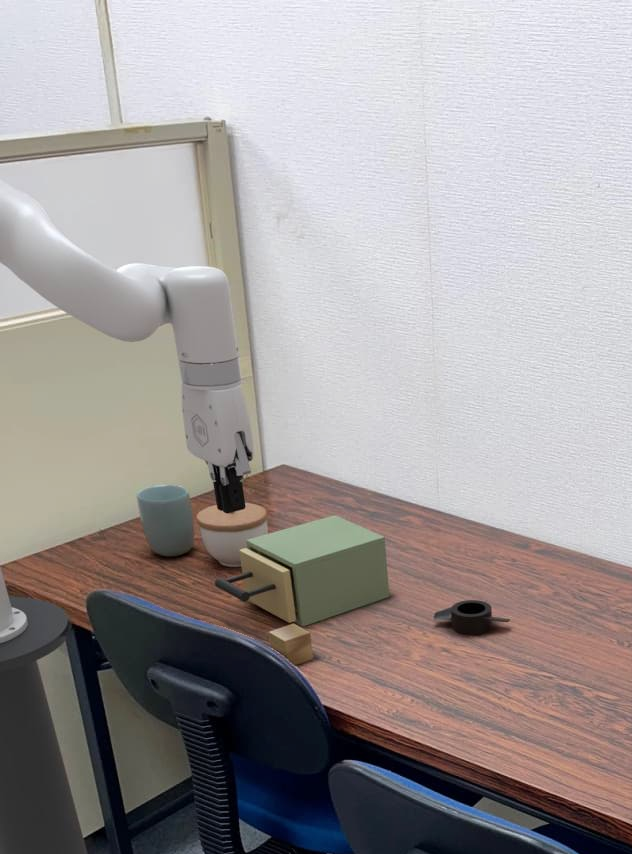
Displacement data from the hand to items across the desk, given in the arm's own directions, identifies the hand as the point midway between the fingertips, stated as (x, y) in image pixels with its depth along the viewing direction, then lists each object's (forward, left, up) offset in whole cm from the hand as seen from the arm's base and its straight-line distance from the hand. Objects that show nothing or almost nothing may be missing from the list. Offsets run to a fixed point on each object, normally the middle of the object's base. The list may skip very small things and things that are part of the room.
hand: (231, 509), depth 163 cm
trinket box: (+12, +22, -17) cm, 30 cm away
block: (-2, -14, -17) cm, 22 cm away
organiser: (+13, 0, -17) cm, 21 cm away
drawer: (+8, 0, -16) cm, 18 cm away
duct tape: (+23, -23, -17) cm, 37 cm away
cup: (+6, +32, -17) cm, 37 cm away
